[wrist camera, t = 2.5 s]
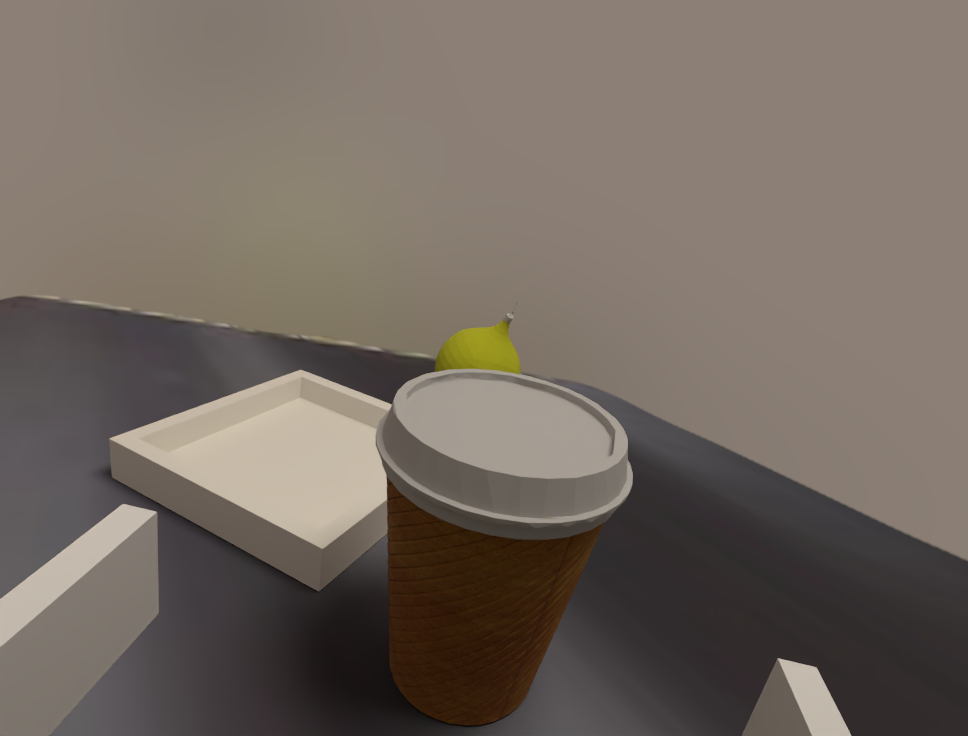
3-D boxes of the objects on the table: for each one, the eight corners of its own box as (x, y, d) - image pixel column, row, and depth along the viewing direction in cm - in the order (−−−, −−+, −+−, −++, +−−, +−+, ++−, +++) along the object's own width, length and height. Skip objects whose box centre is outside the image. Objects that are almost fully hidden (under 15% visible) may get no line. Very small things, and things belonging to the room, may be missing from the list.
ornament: (520, 430, 48) (545, 313, 44) (435, 425, 46) (453, 303, 42) (501, 393, 54) (521, 289, 51) (425, 388, 52) (441, 279, 49)
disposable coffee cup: (361, 576, 29) (387, 353, 25) (545, 588, 31) (598, 378, 26) (335, 767, 20) (368, 471, 16) (594, 771, 22) (687, 500, 18)
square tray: (465, 466, 41) (470, 435, 40) (319, 591, 28) (322, 548, 27) (299, 398, 46) (300, 369, 45) (111, 477, 33) (109, 438, 32)
